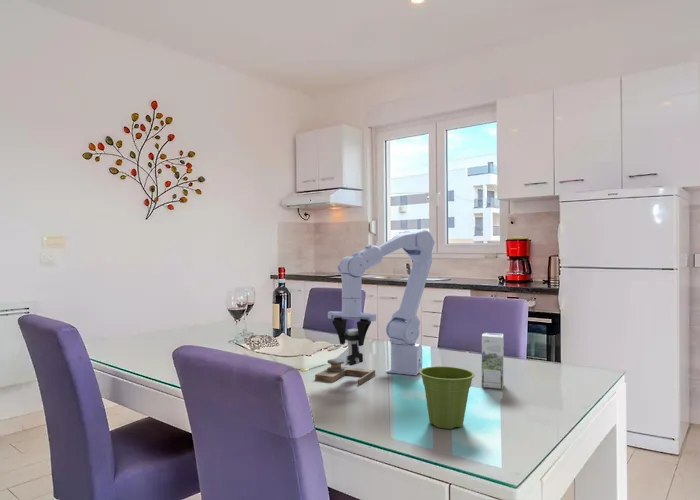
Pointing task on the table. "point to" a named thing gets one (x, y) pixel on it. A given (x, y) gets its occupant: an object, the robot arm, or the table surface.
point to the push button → (353, 347)
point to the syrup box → (492, 360)
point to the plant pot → (446, 394)
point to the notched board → (343, 372)
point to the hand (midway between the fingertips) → (351, 344)
